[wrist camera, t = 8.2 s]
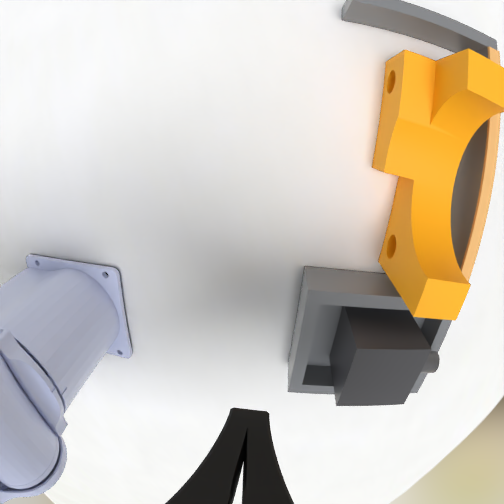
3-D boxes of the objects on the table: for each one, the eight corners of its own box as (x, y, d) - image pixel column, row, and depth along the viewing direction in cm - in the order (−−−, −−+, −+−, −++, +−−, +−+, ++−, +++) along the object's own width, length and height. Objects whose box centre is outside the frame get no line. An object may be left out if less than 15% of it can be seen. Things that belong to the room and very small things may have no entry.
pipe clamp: (384, 62, 14) (433, 32, 8) (447, 84, 14) (511, 72, 8) (351, 256, 18) (379, 313, 12) (412, 266, 18) (455, 320, 12)
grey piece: (288, 362, 21) (287, 420, 16) (328, 6, 13) (344, -38, 7) (406, 366, 21) (426, 417, 16) (471, 48, 12) (521, 32, 7)
